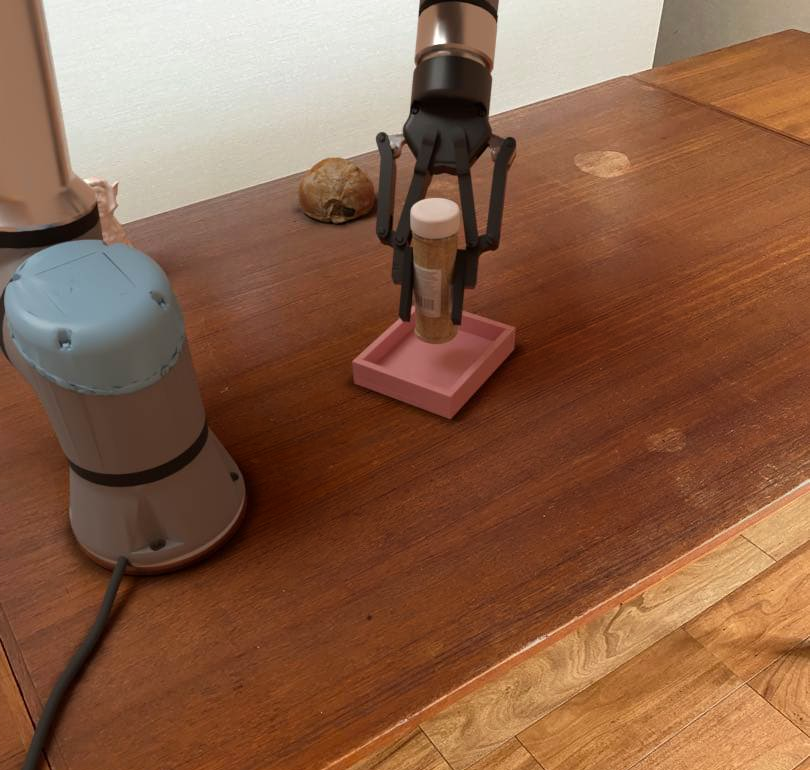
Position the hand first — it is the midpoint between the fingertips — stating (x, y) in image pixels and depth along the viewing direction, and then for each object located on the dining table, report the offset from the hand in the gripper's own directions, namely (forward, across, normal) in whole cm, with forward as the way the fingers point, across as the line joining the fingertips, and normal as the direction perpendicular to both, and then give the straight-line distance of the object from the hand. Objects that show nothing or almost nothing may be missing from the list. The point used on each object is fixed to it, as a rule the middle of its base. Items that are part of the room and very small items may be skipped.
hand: (430, 320), depth 83 cm
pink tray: (+3, 0, -8) cm, 9 cm away
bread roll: (-21, +18, -32) cm, 43 cm away
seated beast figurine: (-6, +41, -18) cm, 45 cm away
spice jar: (0, 0, -6) cm, 6 cm away
